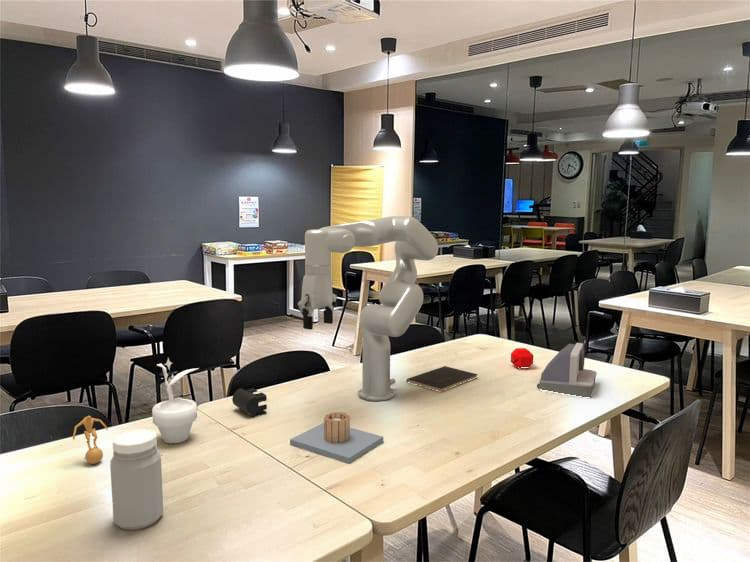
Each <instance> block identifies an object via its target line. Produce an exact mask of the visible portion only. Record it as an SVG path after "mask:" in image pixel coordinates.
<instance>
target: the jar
mask: <svg viewBox="0 0 750 562" xmlns="http://www.w3.org/2000/svg"><path fill="white" fill-rule="evenodd" d="M157 440H158V439H157V432H156V431H154V430H152V429H149V428H136V429H129V430H126V431H123V432H120V433H118V434H117V435H115V436H114V437H112V451H113V453H112V454H113V456H112V458H111V459H110V464H109V465H110V482H111V483H110V485H111V486H110V487H111V498H112V499H111V501H112V502H111V503H112V518H113V523H114V524H115V525H117V526H118V527H119V528H121V529H122V530H124V531H125V530H130V531H136V530H141V529H145V528H147V527H151V526H152V525H154V524H155V523H156V522H157V521H158V520H159V518H160V517H161V516H162V515H163V513H164V497H163V496H164V495H163V476H162V473H163V472H162V456H161V455H162V454H161V452H160V450H158V447H157V444H158V443H157V442H158V441H157Z"/></svg>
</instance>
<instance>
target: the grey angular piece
mask: <svg viewBox="0 0 750 562" xmlns="http://www.w3.org/2000/svg"><path fill="white" fill-rule="evenodd" d="M585 356H586V352H585V350H584V343H583V342H582V343H581V342H576V343H575V344H574V343H568V344H566V346H565V347H563V348H561V349H560V350H559V352H557V354H556V355H555V356H554V357H553V358H552V359H551V360H550V361H549V362H548V363H547V365H546V366H545V368H544V370H543V371H542V372H541V376H540V380H539V383H537V384H536V388H538V387H539V388H540V389H542V390H548V391H553V392H558V393H564V394H570V395H576V396H582V397H581V398H583V397H592V396H591V395H593V393H592V392H594V390H595V389H594V388H595V386H596V379H597V378H596V377H597V373H598V372H597V371H595V370H593V369H587V368H586V369H585ZM594 385H595V386H594ZM539 388H538V389H539Z"/></svg>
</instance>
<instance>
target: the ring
mask: <svg viewBox="0 0 750 562" xmlns="http://www.w3.org/2000/svg"><path fill="white" fill-rule="evenodd" d="M333 419H342V420H333ZM323 423H324V440H325V441H327V442H330V443H343V442H346V441H348V440H349V439H350V428H351V416H350V414H349V413H345V412H340V411H339V412H329V413H327V414H325V415H324V417H323Z"/></svg>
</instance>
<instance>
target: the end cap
mask: <svg viewBox="0 0 750 562" xmlns="http://www.w3.org/2000/svg"><path fill="white" fill-rule="evenodd" d="M256 392H258V389H255V388H254V387H253V388H249V389H243V388H237V390H235V391H234V393H233V395H232V399H231V400H232V403H233V405H234V406H235V407H237V408H238V409H239V410H241V411H243V412H245V413H247V414H248V415H249V416H251V417H254V416H256V417H259V416H258V415H260V416H262V414H264V415H266V414H267V411H266V410H267V409H268V405H267V404H266V403H265V404H261V405H259V404H260V403H262V402H267V400H268V399H267V398H268V397H267V395H266V393H264V392H258V393H256ZM254 418H255V417H254Z"/></svg>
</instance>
